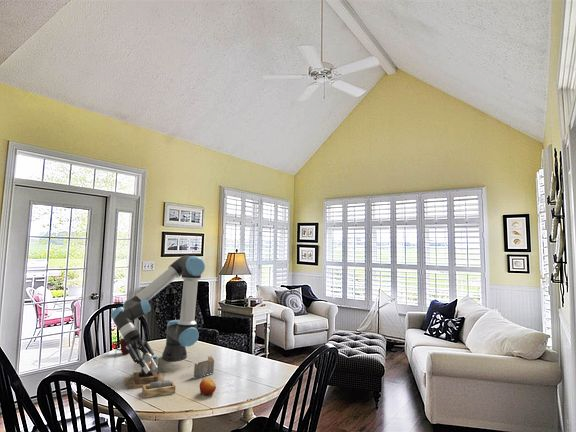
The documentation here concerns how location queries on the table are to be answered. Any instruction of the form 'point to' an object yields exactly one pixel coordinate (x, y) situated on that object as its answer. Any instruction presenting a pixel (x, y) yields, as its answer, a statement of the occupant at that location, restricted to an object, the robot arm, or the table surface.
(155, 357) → the cup
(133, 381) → the cradle
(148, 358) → the cell
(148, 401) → the table surface
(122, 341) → the mug
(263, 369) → the table surface
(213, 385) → the fruit
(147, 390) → the trough
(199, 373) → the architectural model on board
